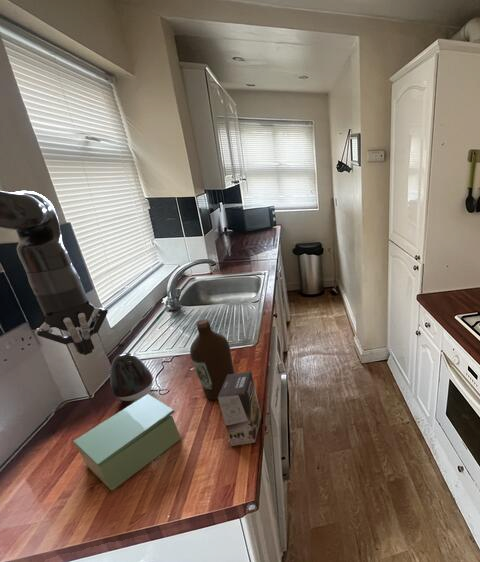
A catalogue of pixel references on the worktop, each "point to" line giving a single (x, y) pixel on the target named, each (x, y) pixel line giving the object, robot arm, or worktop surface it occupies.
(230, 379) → the coffee box
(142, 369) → the dark rounded dome
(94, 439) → the chest lid
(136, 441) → the chest
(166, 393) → the worktop surface
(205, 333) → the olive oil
